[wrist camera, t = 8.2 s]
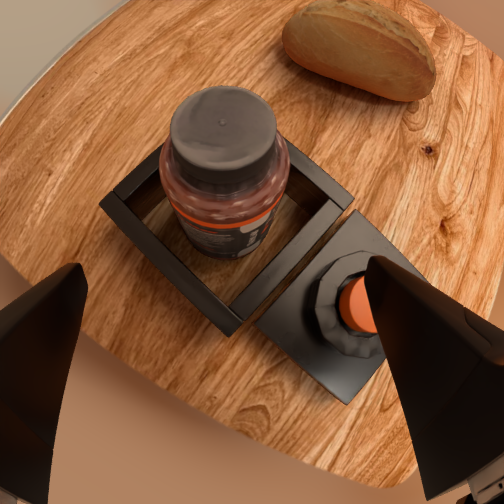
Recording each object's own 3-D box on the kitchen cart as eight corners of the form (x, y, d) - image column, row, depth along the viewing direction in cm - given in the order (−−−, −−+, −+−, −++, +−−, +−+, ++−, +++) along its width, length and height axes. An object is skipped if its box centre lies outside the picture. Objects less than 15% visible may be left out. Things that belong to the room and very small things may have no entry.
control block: (336, 398, 20) (357, 413, 16) (250, 323, 21) (255, 324, 17) (418, 291, 22) (449, 284, 18) (345, 218, 22) (365, 198, 19)
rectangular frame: (229, 334, 20) (228, 338, 16) (118, 222, 21) (97, 203, 18) (335, 218, 22) (355, 198, 19) (225, 125, 24) (225, 93, 20)
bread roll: (423, 136, 25) (469, 87, 17) (266, 82, 25) (277, 11, 17) (419, 71, 27) (452, 24, 19) (288, 25, 27) (300, -35, 19)
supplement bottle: (274, 257, 22) (318, 193, 11) (185, 265, 21) (138, 207, 10) (264, 176, 23) (290, 66, 12) (181, 183, 22) (147, 75, 11)
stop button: (365, 343, 17) (378, 345, 15) (327, 307, 17) (337, 305, 16) (397, 301, 18) (411, 299, 16) (361, 266, 18) (373, 260, 16)
